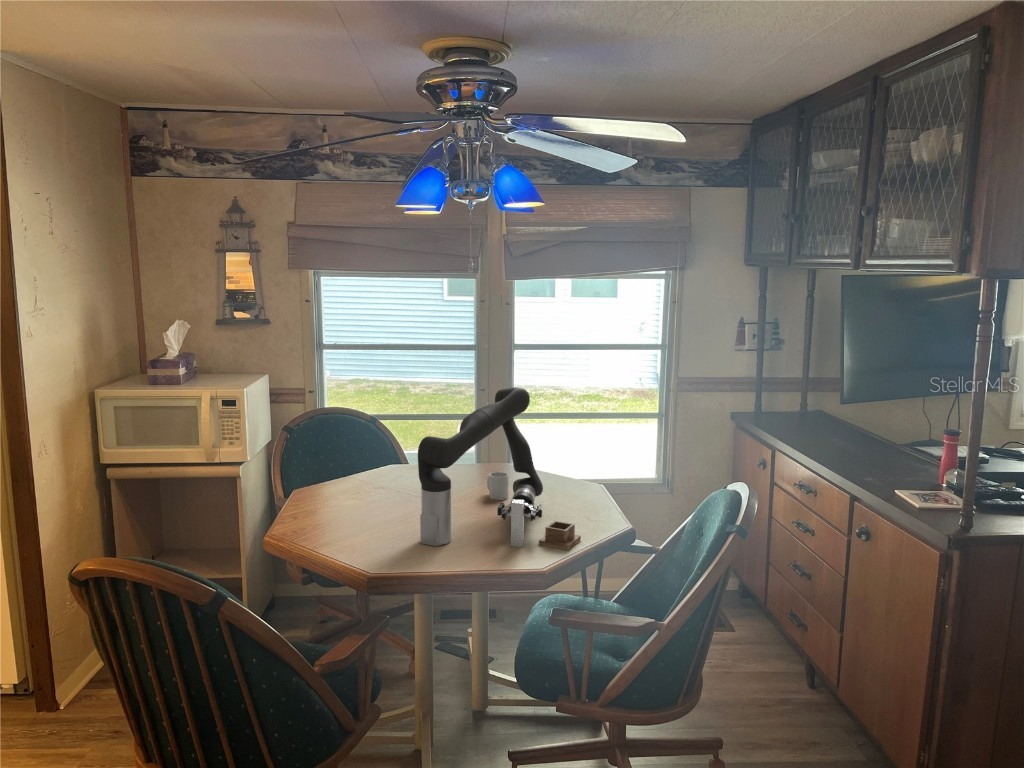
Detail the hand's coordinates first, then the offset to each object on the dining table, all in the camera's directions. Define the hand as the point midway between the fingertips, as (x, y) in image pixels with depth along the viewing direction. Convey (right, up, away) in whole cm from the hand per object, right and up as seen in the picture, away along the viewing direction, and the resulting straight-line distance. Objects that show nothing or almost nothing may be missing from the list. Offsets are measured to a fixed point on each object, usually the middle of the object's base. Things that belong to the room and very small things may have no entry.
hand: (517, 517), depth 234 cm
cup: (-8, -1, +49) cm, 50 cm away
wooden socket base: (+13, -8, +2) cm, 16 cm away
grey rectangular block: (0, -9, 0) cm, 9 cm away
